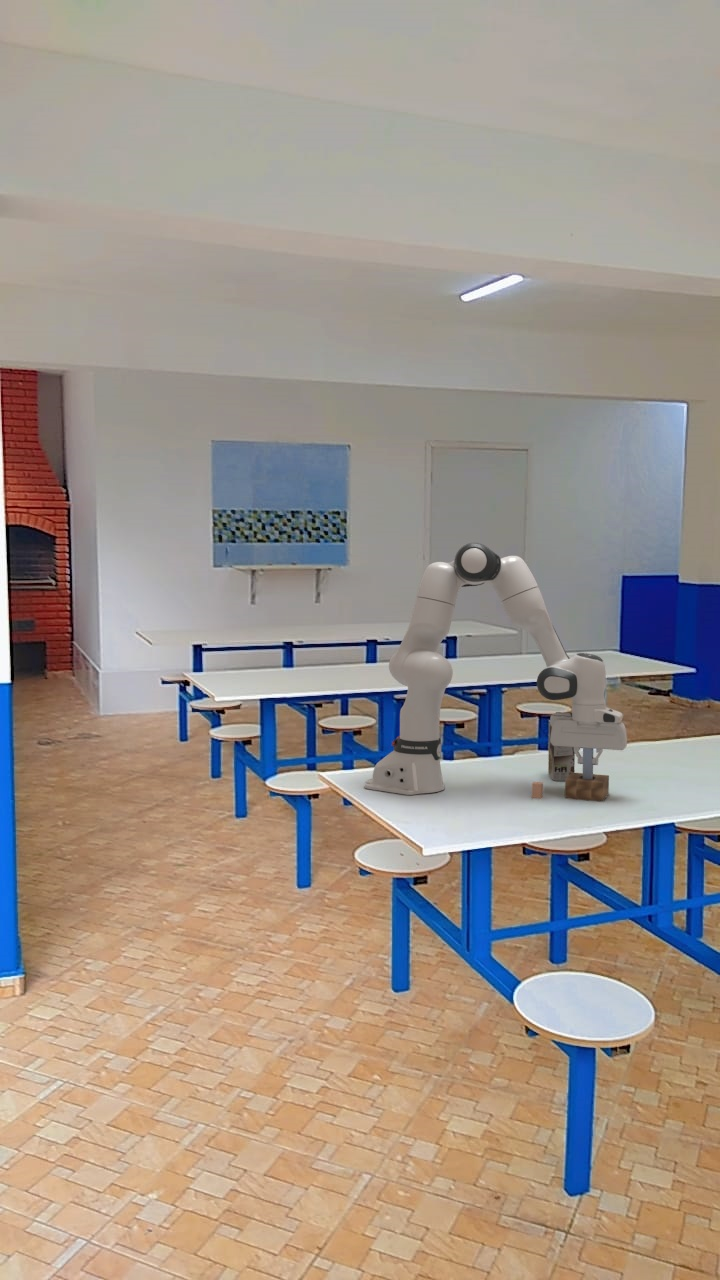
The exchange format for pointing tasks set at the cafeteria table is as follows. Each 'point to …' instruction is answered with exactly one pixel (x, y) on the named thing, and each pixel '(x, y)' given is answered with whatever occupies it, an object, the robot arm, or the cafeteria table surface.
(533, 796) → the short peg
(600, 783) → the hole block
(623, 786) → the cafeteria table surface
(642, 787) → the cafeteria table surface
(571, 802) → the cafeteria table surface
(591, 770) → the long peg
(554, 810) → the cafeteria table surface
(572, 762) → the coffee box
